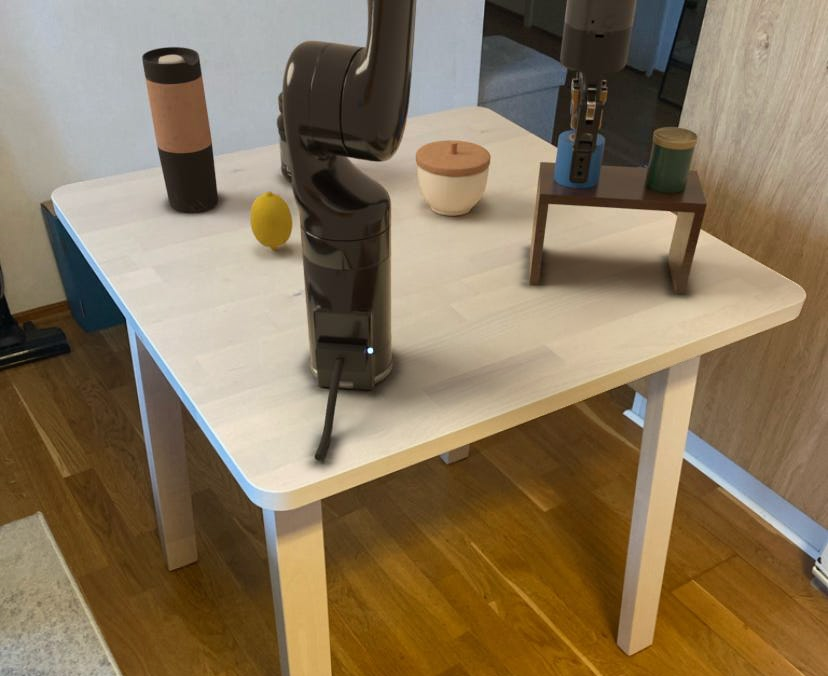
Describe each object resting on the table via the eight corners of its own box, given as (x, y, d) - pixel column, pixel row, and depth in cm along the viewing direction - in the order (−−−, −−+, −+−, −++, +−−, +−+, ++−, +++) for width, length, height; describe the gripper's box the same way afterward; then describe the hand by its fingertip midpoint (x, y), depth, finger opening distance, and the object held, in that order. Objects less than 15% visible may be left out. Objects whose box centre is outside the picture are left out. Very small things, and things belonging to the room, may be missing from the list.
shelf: (684, 294, 115) (707, 203, 107) (529, 284, 116) (539, 193, 108) (676, 258, 122) (697, 170, 114) (530, 249, 124) (540, 161, 115)
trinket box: (490, 195, 136) (495, 131, 129) (482, 226, 129) (486, 160, 122) (421, 189, 137) (422, 125, 131) (408, 219, 130) (409, 153, 123)
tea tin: (688, 194, 109) (700, 144, 104) (645, 192, 109) (655, 141, 105) (684, 177, 112) (695, 127, 108) (642, 175, 113) (652, 125, 108)
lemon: (287, 261, 120) (282, 202, 114) (248, 256, 121) (241, 198, 115) (299, 242, 124) (295, 185, 118) (261, 238, 125) (255, 181, 119)
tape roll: (599, 190, 109) (606, 147, 106) (553, 187, 110) (559, 144, 106) (597, 171, 113) (604, 130, 110) (553, 169, 114) (558, 127, 110)
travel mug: (163, 196, 134) (136, 49, 120) (213, 189, 136) (193, 44, 122) (173, 217, 129) (146, 66, 115) (225, 209, 131) (205, 60, 117)
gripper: (564, 0, 104) (546, 148, 116) (566, 35, 94) (546, 194, 106) (629, 3, 104) (605, 151, 116) (638, 39, 93) (610, 198, 105)
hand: (577, 171), depth 111 cm, fingers closed on tape roll, 5 cm apart
